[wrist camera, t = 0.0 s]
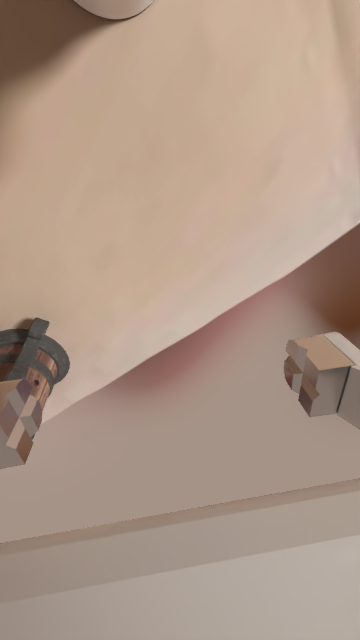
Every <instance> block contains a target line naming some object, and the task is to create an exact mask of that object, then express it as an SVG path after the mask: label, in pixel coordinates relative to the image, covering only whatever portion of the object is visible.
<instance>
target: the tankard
mask: <svg viewBox="0 0 360 640" xmlns="http://www.w3.org/2000/svg"><path fill="white" fill-rule="evenodd" d="M48 325H49V322H48V321H45V320H42V319H40V318H35V319H34V321H33V323H32V325H31V327H30V330H24V329H9V330H4V331H0V382H3V381H11V380H19V379H25V380H28V381H29V383H30V385H31V386H32V388H33V389H32V391H31V394H30V395H32V396H34V397H35V398H37V399H38V400H39V402H40V404H41V409H42V411H43V408H44V405H45V403H46V400H47V398H48V397H49V395H50V394H51V391H52V389H53V386H54V384H56V383H58V382H60V381H61V380H62V379H63V378H64V377H65V376H66V374H67V373H68V370H69V366H70V361H69V357H68V355H67V353H66V351H65V350H64V349H63V347H62V346H61V345H60V344H58V343H57V342H56V341H55V340H53V339H52V338H50V337H48V336H46V335H45V333H46V330H47V328H48ZM34 435H35V434H34ZM34 435H33V436H31V439H33V438H34Z"/></svg>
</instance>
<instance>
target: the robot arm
mask: <svg viewBox="0 0 360 640" xmlns="http://www.w3.org/2000/svg"><path fill="white" fill-rule="evenodd" d="M74 1H75V2H76V3H77V4H79V5H80V6H81V7H83V8H84V9H86V10H87V11H89V12H91V13H93V14H95V15H97V16H100V17H103V18H108V19H124V18H128V17H131V16H134V15H136V14H138V13H140V12H141V11H143V10H144V9H146V8H147V7H148V6H149V5H150V4H151V3H152V2H153V1H154V0H74ZM286 351H287V353H288V354H289V357H288V358H287V359H286V360H285V361H284V374H285V379H286V381H287V383H288V385H289V387H290V388H291V390H293V391H295V392H296V393H299V399H298V401H299V402H300V403H301V405H302V406H303V408H304V410H305V411H306V412H307V414H308V416H309V417H314V416H321V415H329V414H336V413H338V414H337V415H338V416H340V417H341V418H343V419H344V420H346V421H348V422H349V423H351V424H352V425H354V426H355V427H357V428H358V429H360V350H359V349H357V348H356V347H355V346H354V345H353V344H351V343H350V342H349V341H348V340H347V339H346V338H345V337H343V336H342V335H341V334H340V333H337V332H331V333H326V334H320V335H317V336H310V337H305V338H297V339H291V340H289V341H288V343H287V346H286ZM32 389H33V388H32V386H31V385H30V383H29V381H28V380H25V379H19V380H11V381H3V382H0V469H2V468H7V467H13V466H18V465H23V464H25V463H26V460H27V458H28V455H29V453H30V450H31V448H32V445H33V441H32V439H31V436H33V435H34V434H35V433H36V432H37V431H38V430H39V427H40V424H41V421H42V409H41V404H40V402H39V400H38V399H37V398H35V397H34V396H32V395H30V394H31V391H32ZM0 640H360V478H359V479H353V480H348V481H342V482H337V483H331V484H326V485H320V486H315V487H309V488H303V489H298V490H293V491H287V492H281V493H276V494H270V495H265V496H259V497H254V498H248V499H242V500H237V501H231V502H226V503H220V504H215V505H209V506H204V507H198V508H193V509H187V510H182V511H177V512H170V513H165V514H159V515H154V516H149V517H143V518H137V519H132V520H127V521H121V522H116V523H110V524H104V525H99V526H93V527H88V528H83V529H77V530H71V531H66V532H61V533H54V534H49V535H44V536H38V537H33V538H27V539H21V540H16V541H11V542H5V543H0Z"/></svg>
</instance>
